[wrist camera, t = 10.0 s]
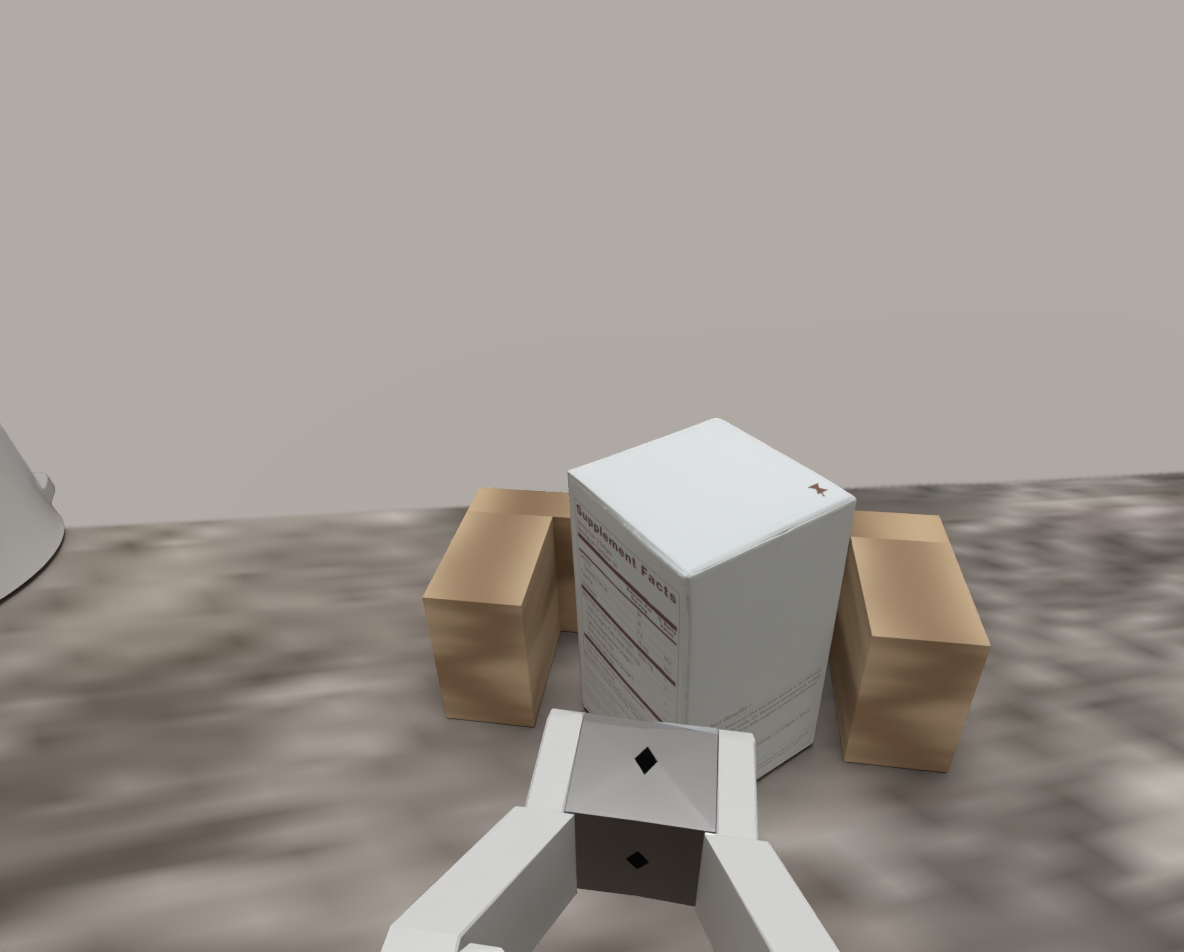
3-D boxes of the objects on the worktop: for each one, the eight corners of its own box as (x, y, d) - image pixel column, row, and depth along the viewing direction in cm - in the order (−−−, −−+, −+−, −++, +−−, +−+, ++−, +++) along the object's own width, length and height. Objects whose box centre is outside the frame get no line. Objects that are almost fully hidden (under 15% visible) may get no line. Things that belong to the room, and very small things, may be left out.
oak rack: (446, 717, 33) (422, 597, 30) (494, 597, 40) (479, 487, 36) (947, 772, 30) (990, 646, 26) (908, 632, 37) (939, 515, 33)
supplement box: (706, 640, 37) (721, 410, 30) (818, 747, 31) (867, 495, 25) (576, 706, 34) (561, 465, 27) (676, 836, 28) (688, 575, 22)
